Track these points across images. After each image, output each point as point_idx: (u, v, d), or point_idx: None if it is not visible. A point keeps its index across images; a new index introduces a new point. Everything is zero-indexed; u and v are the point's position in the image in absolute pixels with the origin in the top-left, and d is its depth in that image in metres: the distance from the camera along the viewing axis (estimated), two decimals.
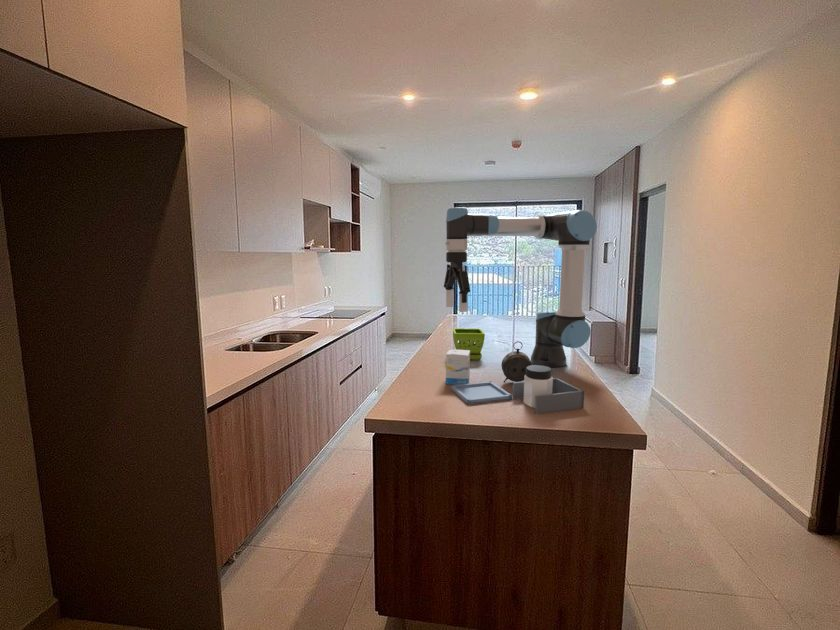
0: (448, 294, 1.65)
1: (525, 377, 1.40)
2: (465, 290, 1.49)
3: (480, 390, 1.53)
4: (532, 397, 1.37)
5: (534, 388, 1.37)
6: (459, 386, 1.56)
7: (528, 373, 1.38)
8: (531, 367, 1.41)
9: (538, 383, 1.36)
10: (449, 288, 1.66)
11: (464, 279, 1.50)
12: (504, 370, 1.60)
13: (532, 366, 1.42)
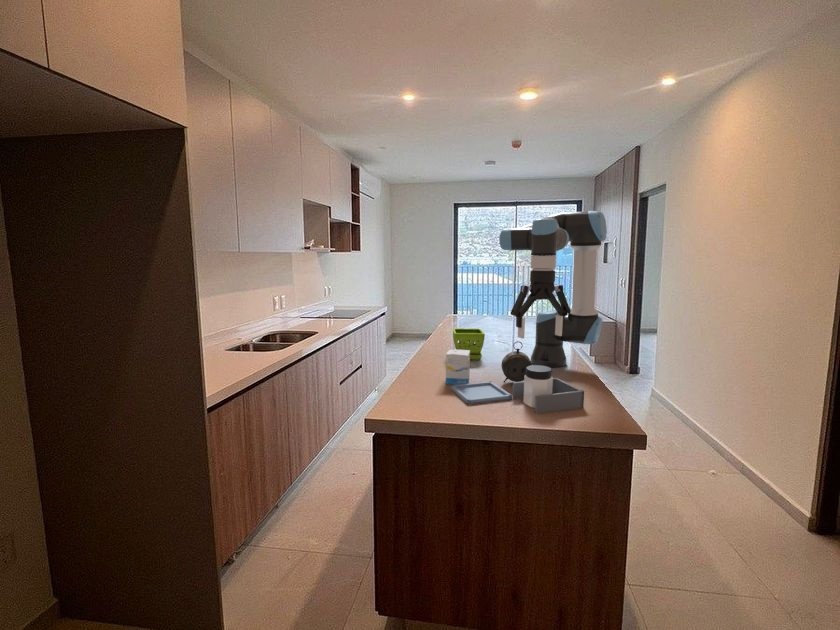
0: (557, 320, 1.39)
1: (525, 377, 1.40)
2: (511, 313, 1.34)
3: (480, 390, 1.53)
4: (532, 397, 1.37)
5: (534, 388, 1.37)
6: (459, 386, 1.56)
7: (528, 373, 1.38)
8: (531, 367, 1.41)
9: (538, 383, 1.36)
10: (560, 313, 1.39)
11: (517, 301, 1.34)
12: (504, 370, 1.60)
13: (532, 366, 1.42)
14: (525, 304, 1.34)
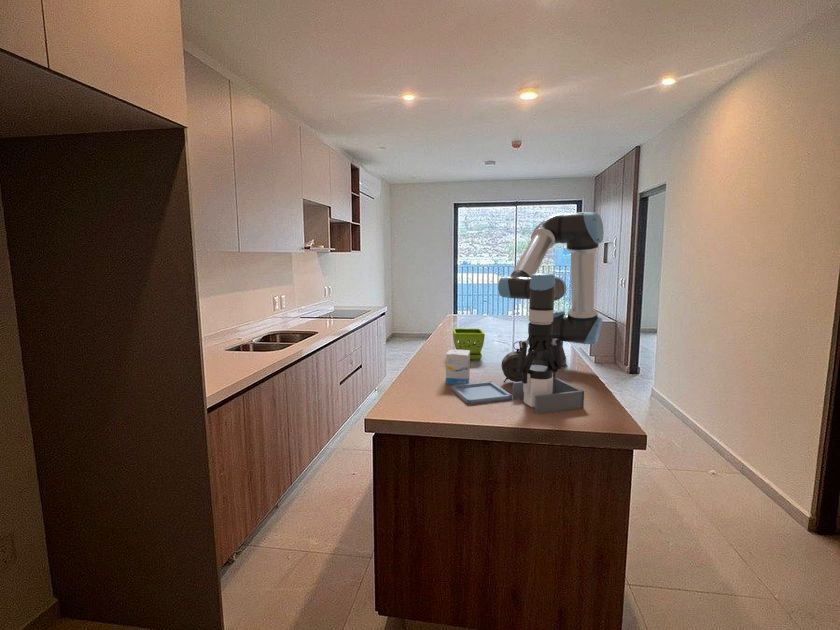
0: None
1: None
2: (517, 369, 1.38)
3: (480, 390, 1.53)
4: (532, 397, 1.37)
5: (534, 388, 1.37)
6: (459, 386, 1.56)
7: (529, 373, 1.38)
8: (532, 367, 1.41)
9: (538, 383, 1.36)
10: None
11: (519, 357, 1.37)
12: (504, 370, 1.60)
13: (533, 366, 1.42)
14: (527, 359, 1.38)
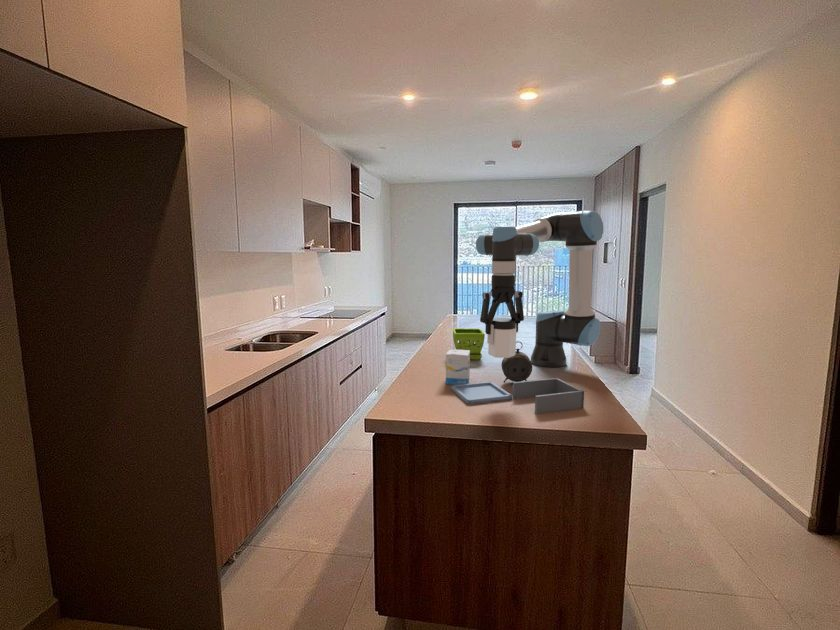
0: None
1: None
2: (481, 320, 1.41)
3: (480, 390, 1.53)
4: (496, 347, 1.41)
5: (498, 338, 1.40)
6: (459, 386, 1.56)
7: (492, 324, 1.42)
8: (496, 319, 1.44)
9: (501, 333, 1.40)
10: None
11: (483, 309, 1.41)
12: (504, 370, 1.60)
13: (497, 318, 1.45)
14: (491, 311, 1.41)
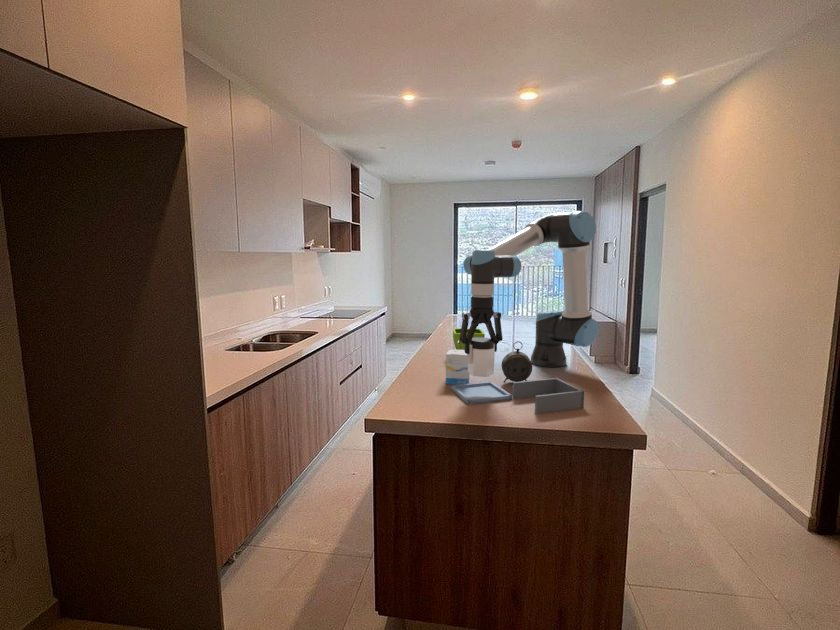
0: None
1: None
2: (460, 340, 1.46)
3: (480, 390, 1.53)
4: (474, 366, 1.45)
5: (476, 357, 1.45)
6: (459, 386, 1.56)
7: (471, 343, 1.46)
8: (475, 338, 1.49)
9: (480, 353, 1.44)
10: None
11: (462, 329, 1.45)
12: (504, 370, 1.60)
13: (476, 338, 1.50)
14: (470, 331, 1.46)
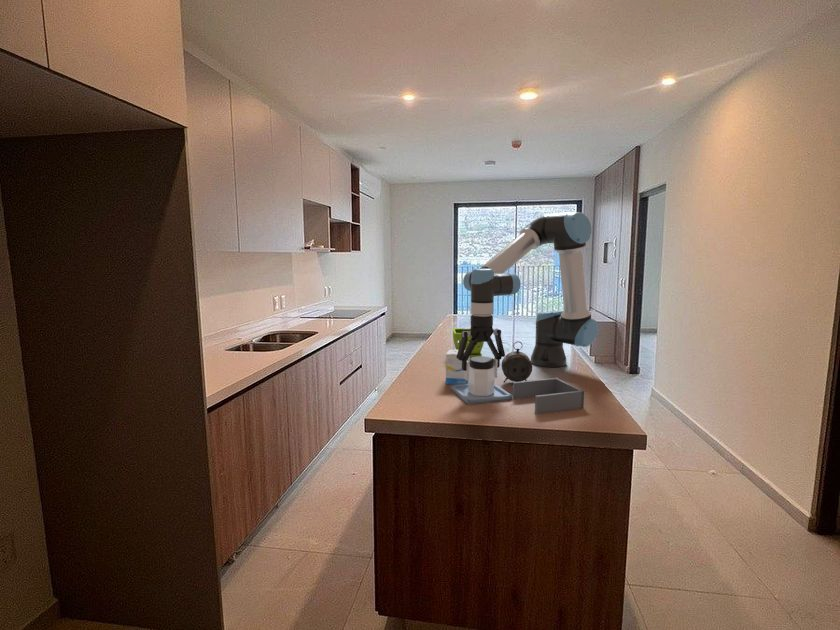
0: None
1: (469, 367, 1.49)
2: (457, 357, 1.47)
3: None
4: (474, 386, 1.47)
5: (476, 377, 1.46)
6: (459, 386, 1.56)
7: (471, 363, 1.47)
8: (475, 358, 1.50)
9: (480, 373, 1.46)
10: (495, 357, 1.50)
11: (460, 346, 1.46)
12: (504, 370, 1.60)
13: (476, 357, 1.51)
14: (468, 348, 1.47)
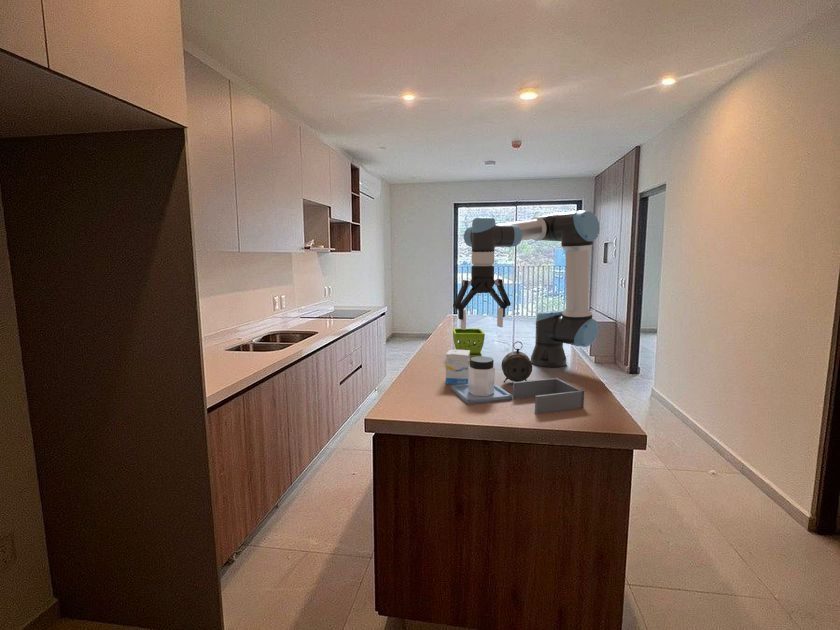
0: (498, 312, 1.49)
1: (469, 367, 1.49)
2: (453, 305, 1.43)
3: None
4: (475, 386, 1.47)
5: (476, 377, 1.46)
6: (459, 386, 1.56)
7: (471, 363, 1.47)
8: (475, 358, 1.50)
9: (480, 373, 1.46)
10: (501, 306, 1.48)
11: (458, 295, 1.43)
12: (504, 370, 1.60)
13: (476, 357, 1.51)
14: (466, 297, 1.44)
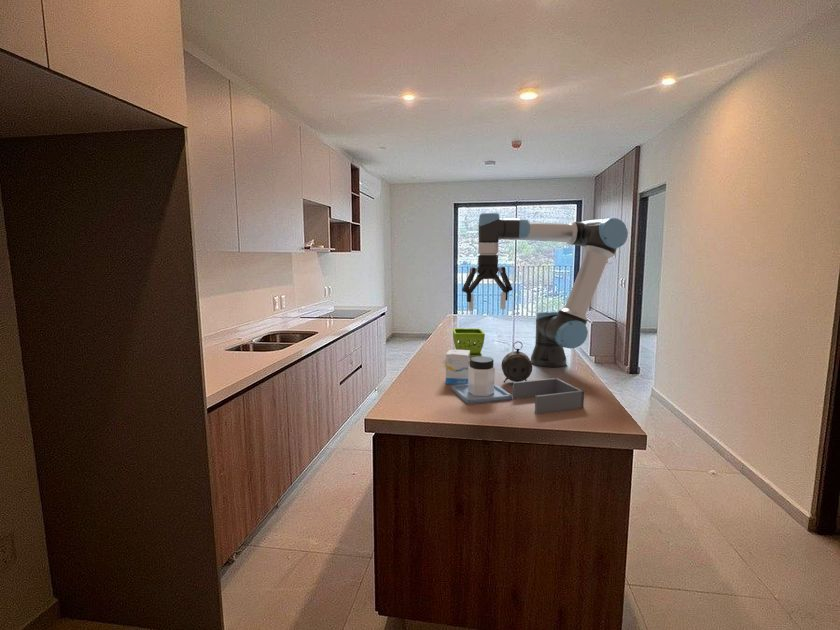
0: (501, 296, 1.69)
1: (469, 367, 1.49)
2: (462, 290, 1.64)
3: None
4: (474, 386, 1.47)
5: (476, 377, 1.46)
6: (459, 386, 1.56)
7: (471, 363, 1.47)
8: (475, 358, 1.50)
9: (480, 373, 1.46)
10: (504, 290, 1.69)
11: (467, 280, 1.64)
12: (504, 370, 1.60)
13: (476, 357, 1.51)
14: (474, 283, 1.64)
